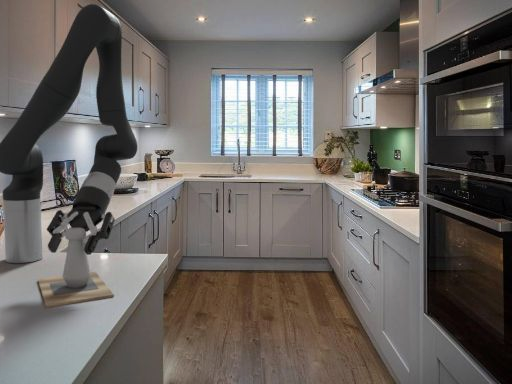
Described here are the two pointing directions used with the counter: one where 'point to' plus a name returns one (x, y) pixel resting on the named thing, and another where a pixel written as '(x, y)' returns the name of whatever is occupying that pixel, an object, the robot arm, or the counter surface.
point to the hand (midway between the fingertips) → (69, 251)
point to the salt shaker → (76, 259)
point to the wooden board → (72, 290)
